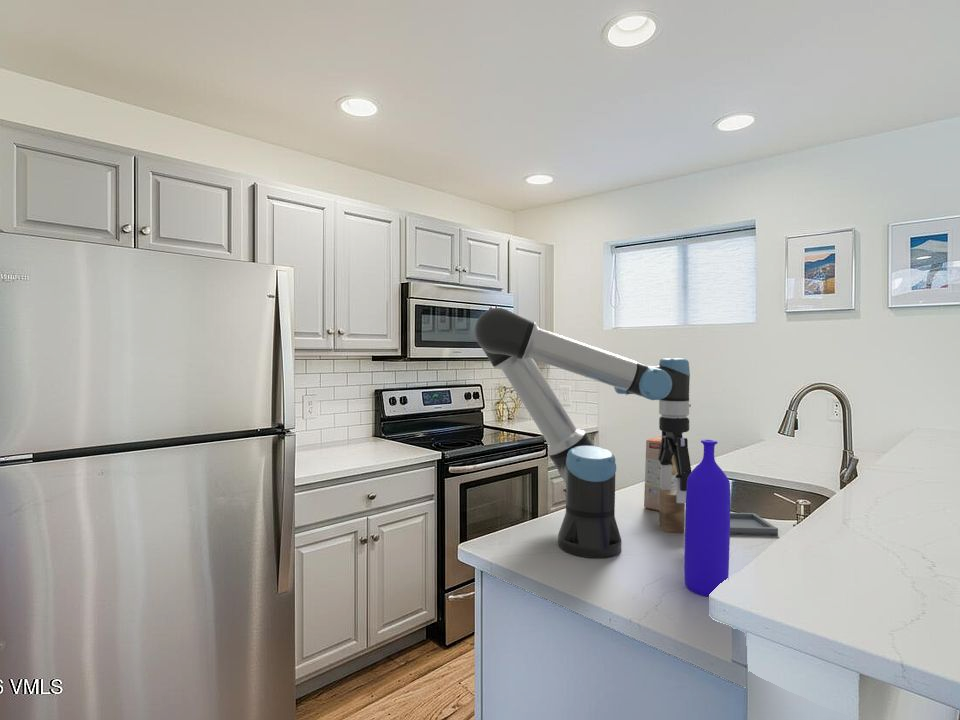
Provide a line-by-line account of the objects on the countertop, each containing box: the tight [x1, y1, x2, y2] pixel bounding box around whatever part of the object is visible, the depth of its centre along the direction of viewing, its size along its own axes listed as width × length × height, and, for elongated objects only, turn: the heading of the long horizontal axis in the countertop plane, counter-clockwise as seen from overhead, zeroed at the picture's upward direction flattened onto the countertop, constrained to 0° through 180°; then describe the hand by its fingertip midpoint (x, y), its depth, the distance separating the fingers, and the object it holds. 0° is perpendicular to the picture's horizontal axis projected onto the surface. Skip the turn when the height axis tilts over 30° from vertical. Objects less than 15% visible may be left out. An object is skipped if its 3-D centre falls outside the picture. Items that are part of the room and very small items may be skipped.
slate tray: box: [730, 512, 779, 537], centre depth 144 cm, size 13×13×2 cm
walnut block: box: [658, 490, 686, 534], centre depth 141 cm, size 5×5×10 cm
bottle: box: [683, 439, 731, 598], centre depth 106 cm, size 8×8×30 cm
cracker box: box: [643, 435, 678, 512], centre depth 163 cm, size 14×6×21 cm, turn 138°
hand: (673, 495), depth 141 cm, fingers open, 13 cm apart
